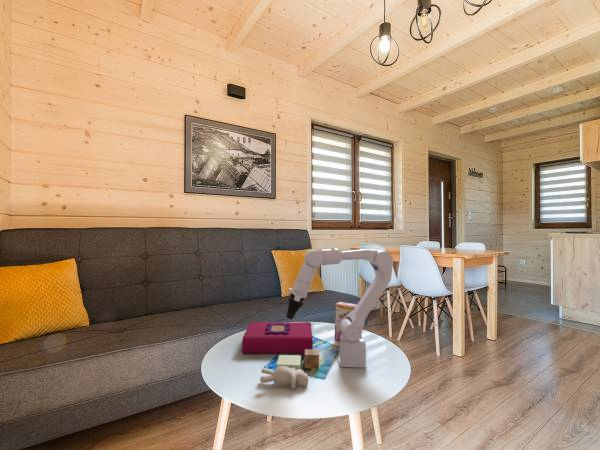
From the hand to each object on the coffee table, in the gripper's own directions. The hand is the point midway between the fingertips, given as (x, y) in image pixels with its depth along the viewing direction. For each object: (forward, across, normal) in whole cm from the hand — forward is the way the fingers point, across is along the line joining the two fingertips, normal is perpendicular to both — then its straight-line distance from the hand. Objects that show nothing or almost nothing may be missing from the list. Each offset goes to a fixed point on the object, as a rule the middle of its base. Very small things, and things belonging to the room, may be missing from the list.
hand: (289, 315), depth 114 cm
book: (+18, -20, +1) cm, 27 cm away
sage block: (+17, +3, +7) cm, 18 cm away
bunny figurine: (+18, +14, +6) cm, 23 cm away
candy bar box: (+7, -25, +29) cm, 39 cm away
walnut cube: (+14, 0, +14) cm, 20 cm away
